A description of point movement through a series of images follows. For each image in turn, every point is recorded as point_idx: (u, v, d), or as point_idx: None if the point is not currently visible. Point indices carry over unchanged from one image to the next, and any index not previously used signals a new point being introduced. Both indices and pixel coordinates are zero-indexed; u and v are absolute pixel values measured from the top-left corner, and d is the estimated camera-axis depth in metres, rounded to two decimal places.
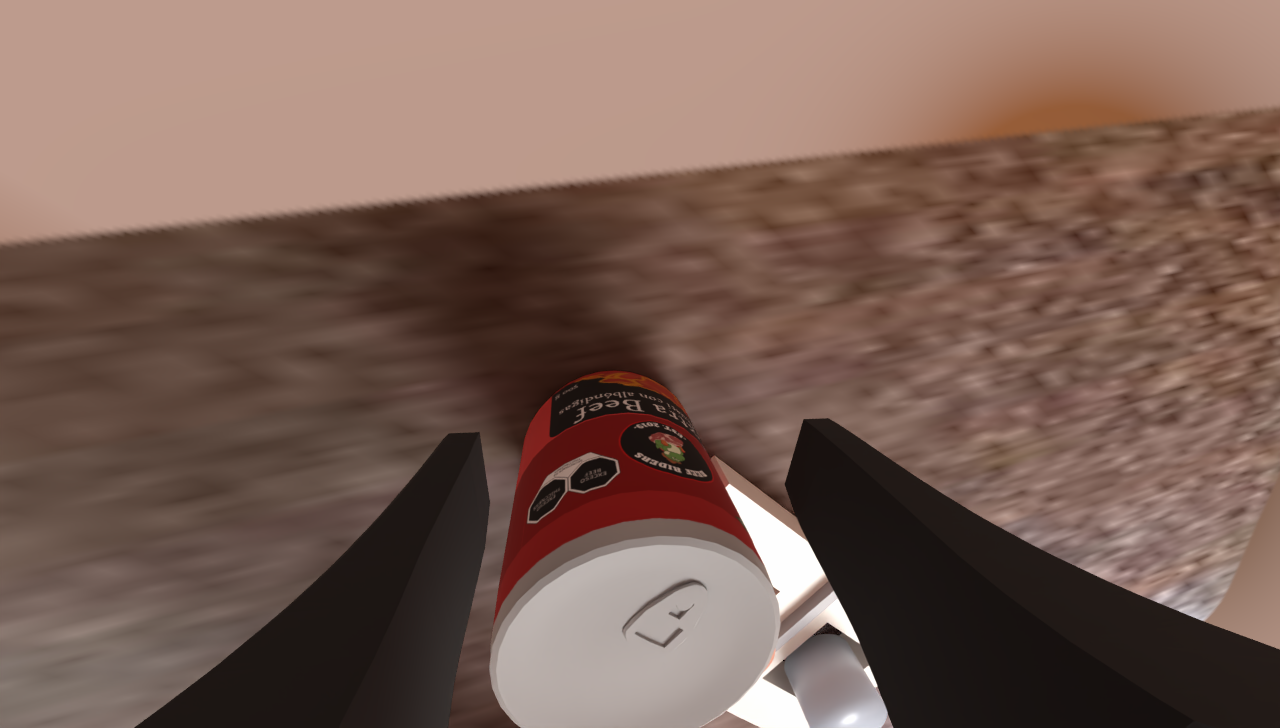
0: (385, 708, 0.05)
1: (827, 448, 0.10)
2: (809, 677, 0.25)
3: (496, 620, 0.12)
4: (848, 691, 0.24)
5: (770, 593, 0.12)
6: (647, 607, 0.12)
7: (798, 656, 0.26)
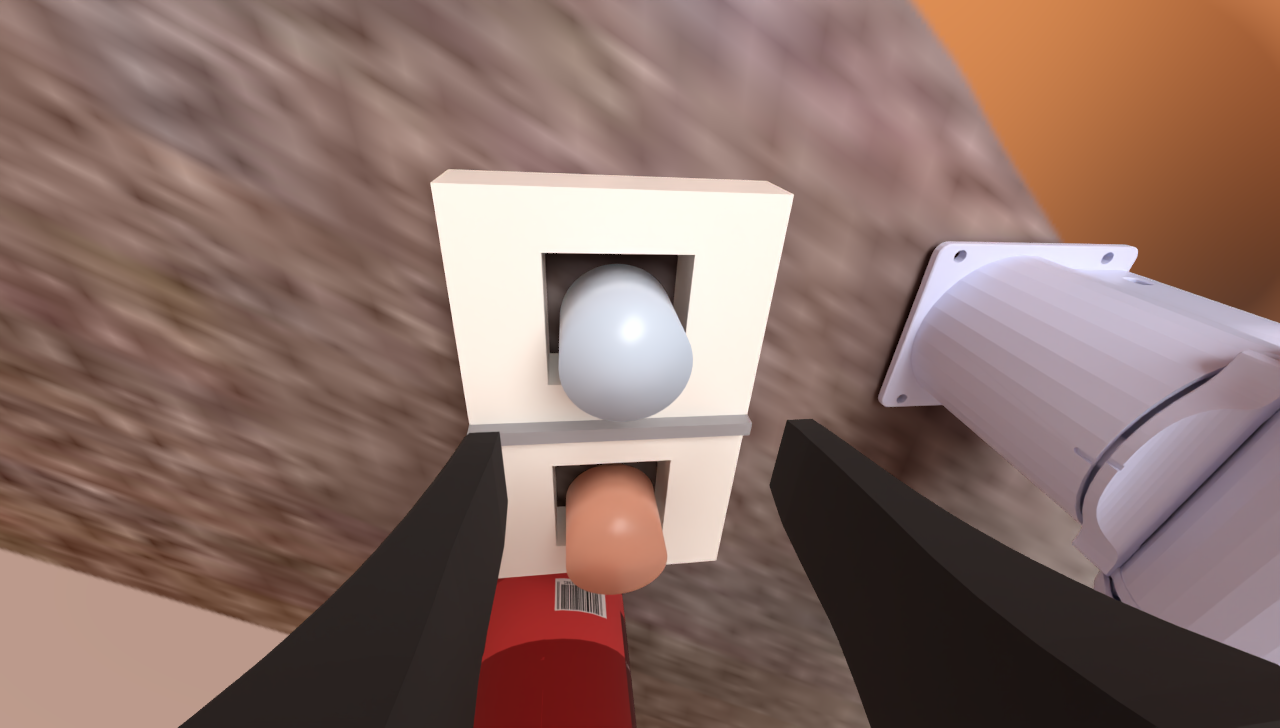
0: (423, 704, 0.05)
1: (809, 449, 0.10)
2: None
3: None
4: None
5: None
6: None
7: None
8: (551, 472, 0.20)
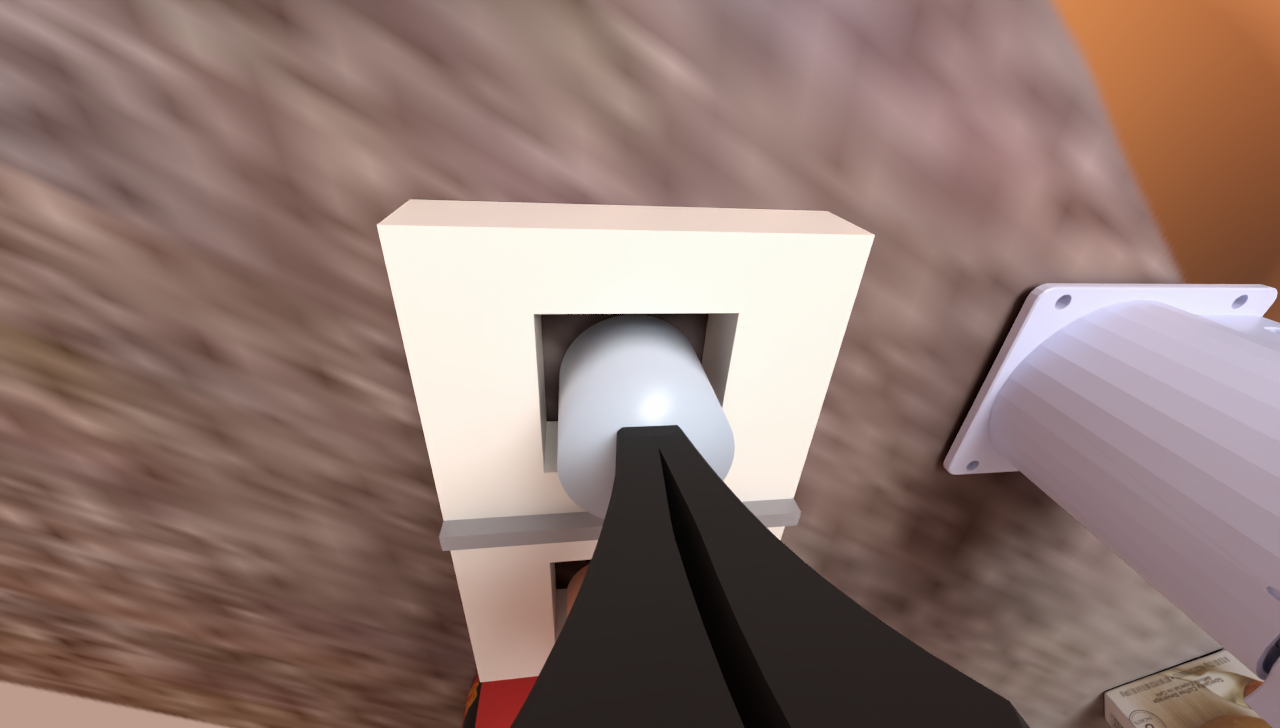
0: None
1: None
2: None
3: None
4: None
5: None
6: None
7: None
8: (548, 569, 0.16)
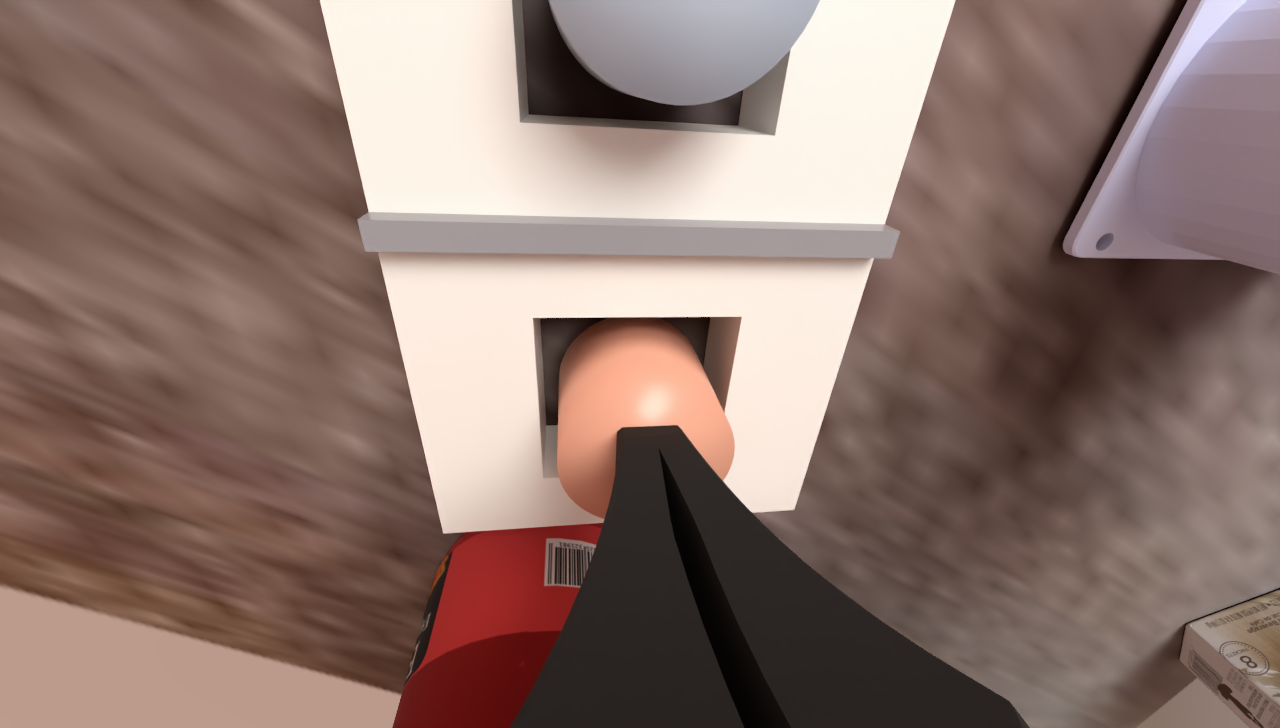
0: None
1: None
2: None
3: None
4: (589, 61, 0.07)
5: None
6: None
7: None
8: (531, 331, 0.11)
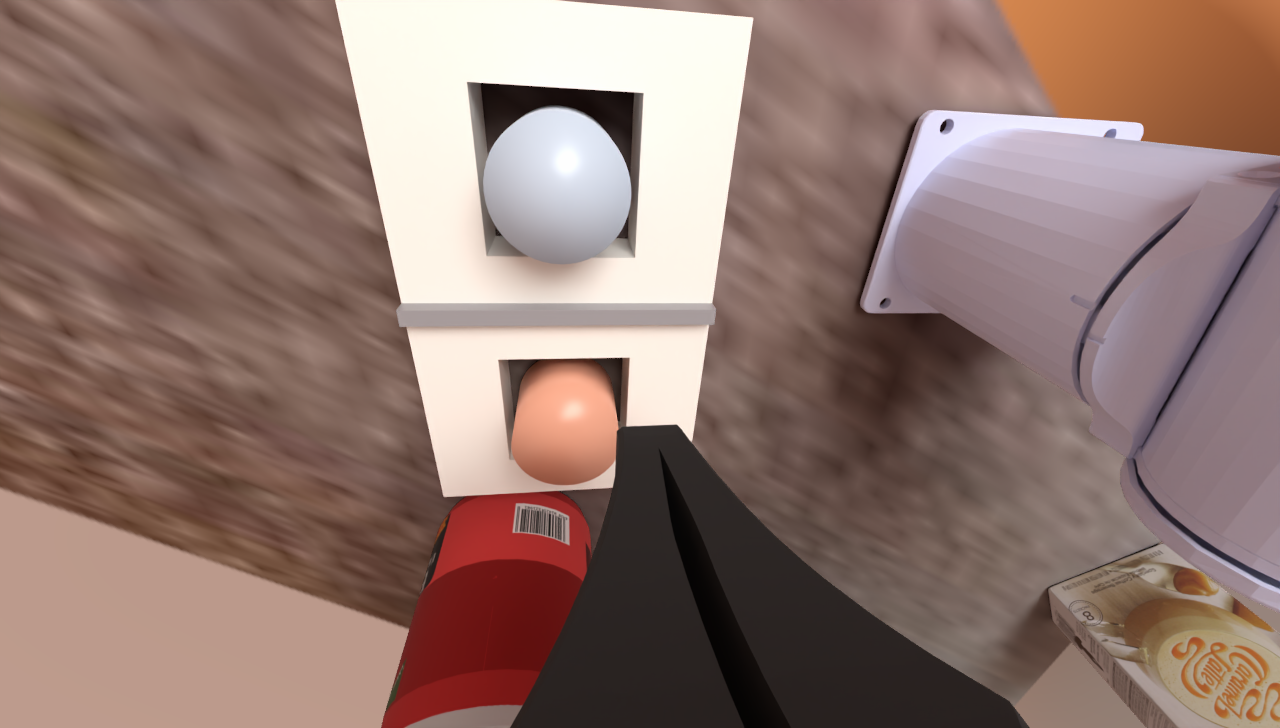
0: None
1: None
2: None
3: None
4: None
5: None
6: None
7: None
8: (497, 367, 0.18)
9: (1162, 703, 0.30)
